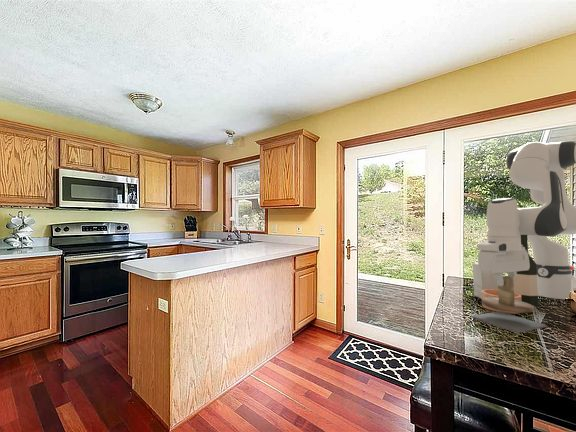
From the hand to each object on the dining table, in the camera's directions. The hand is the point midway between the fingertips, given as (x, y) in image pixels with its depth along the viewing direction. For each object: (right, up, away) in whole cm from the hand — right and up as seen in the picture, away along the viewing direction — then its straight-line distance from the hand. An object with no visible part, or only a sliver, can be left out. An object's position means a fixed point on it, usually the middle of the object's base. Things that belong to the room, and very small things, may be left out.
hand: (505, 285), depth 87 cm
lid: (0, -7, 0) cm, 7 cm away
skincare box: (+16, -14, +28) cm, 34 cm away
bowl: (+10, -13, +13) cm, 21 cm away
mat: (0, -13, 0) cm, 13 cm away
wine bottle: (+25, -13, +19) cm, 34 cm away
